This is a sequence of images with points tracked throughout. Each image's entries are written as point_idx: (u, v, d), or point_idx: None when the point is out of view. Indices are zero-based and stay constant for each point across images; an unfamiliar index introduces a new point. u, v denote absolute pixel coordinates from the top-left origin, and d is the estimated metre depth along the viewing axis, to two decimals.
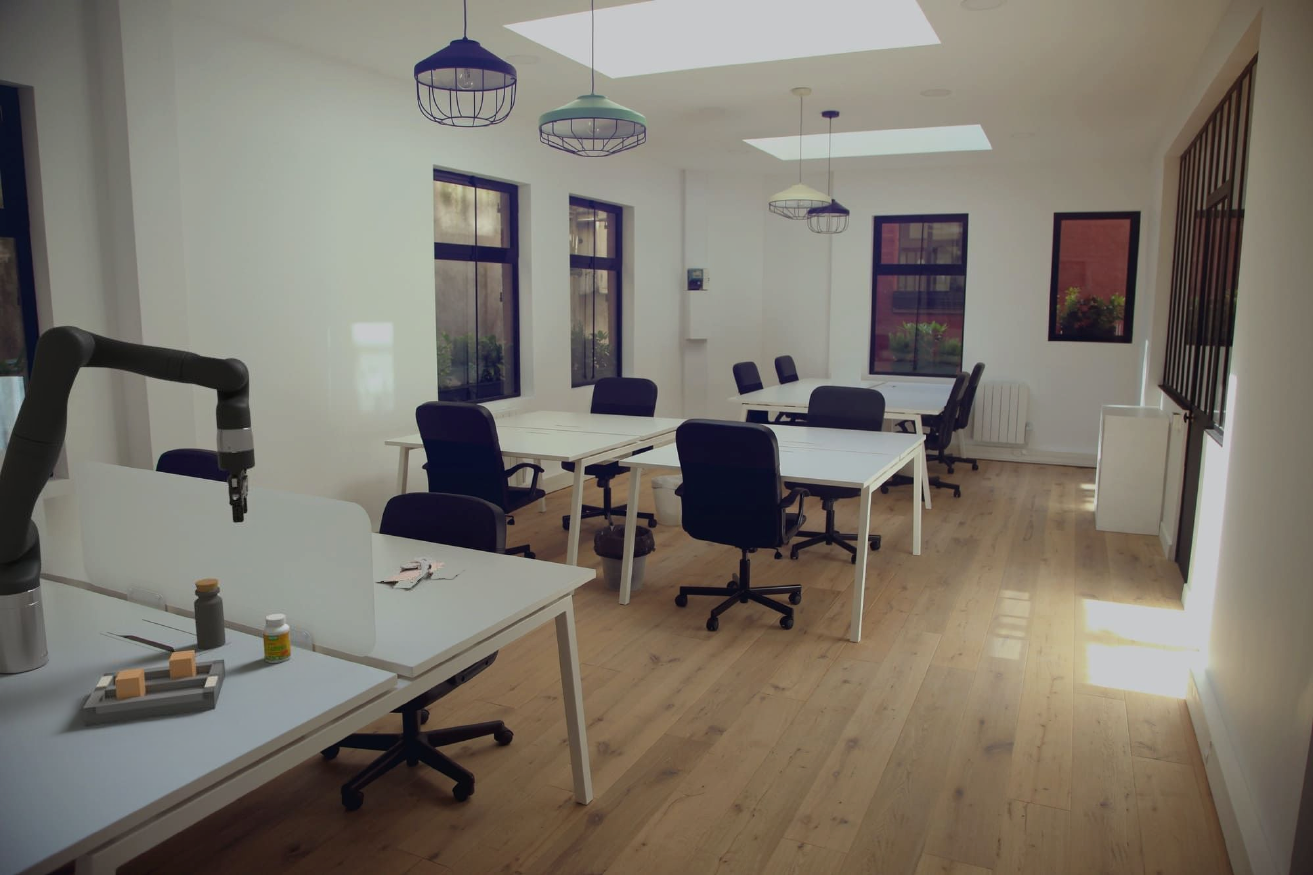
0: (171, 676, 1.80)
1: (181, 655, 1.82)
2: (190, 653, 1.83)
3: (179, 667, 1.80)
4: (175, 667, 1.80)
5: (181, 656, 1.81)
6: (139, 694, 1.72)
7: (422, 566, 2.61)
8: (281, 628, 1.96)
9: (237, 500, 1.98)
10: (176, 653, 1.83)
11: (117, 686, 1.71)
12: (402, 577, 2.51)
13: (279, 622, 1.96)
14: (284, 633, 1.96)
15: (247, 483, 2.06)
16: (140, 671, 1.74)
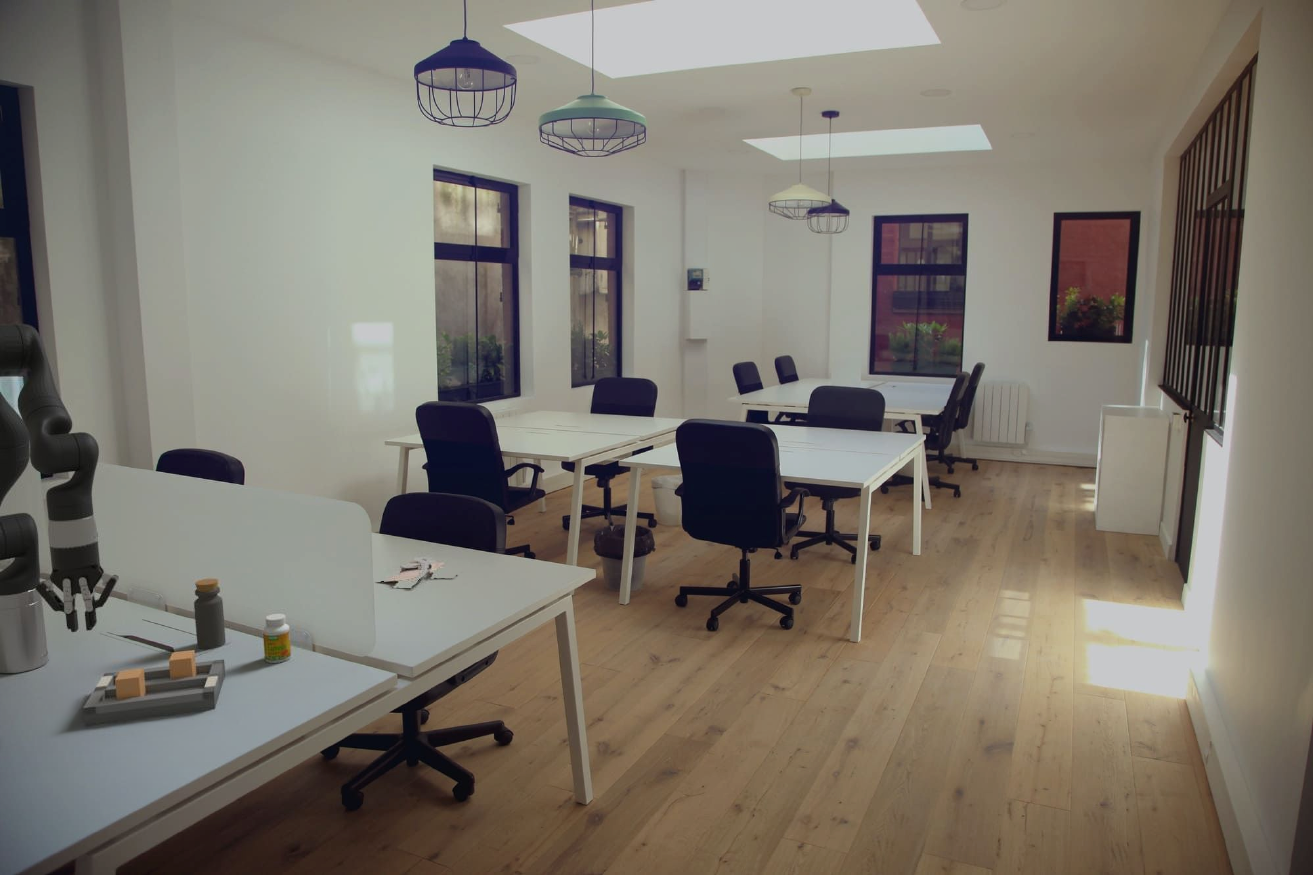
0: (171, 676, 1.80)
1: (181, 655, 1.82)
2: (190, 653, 1.83)
3: (179, 667, 1.80)
4: (175, 667, 1.80)
5: (181, 656, 1.81)
6: (139, 694, 1.72)
7: (422, 566, 2.61)
8: (281, 628, 1.96)
9: None
10: (176, 653, 1.83)
11: (117, 686, 1.71)
12: (402, 577, 2.51)
13: (279, 622, 1.96)
14: (284, 633, 1.96)
15: None
16: (140, 671, 1.74)
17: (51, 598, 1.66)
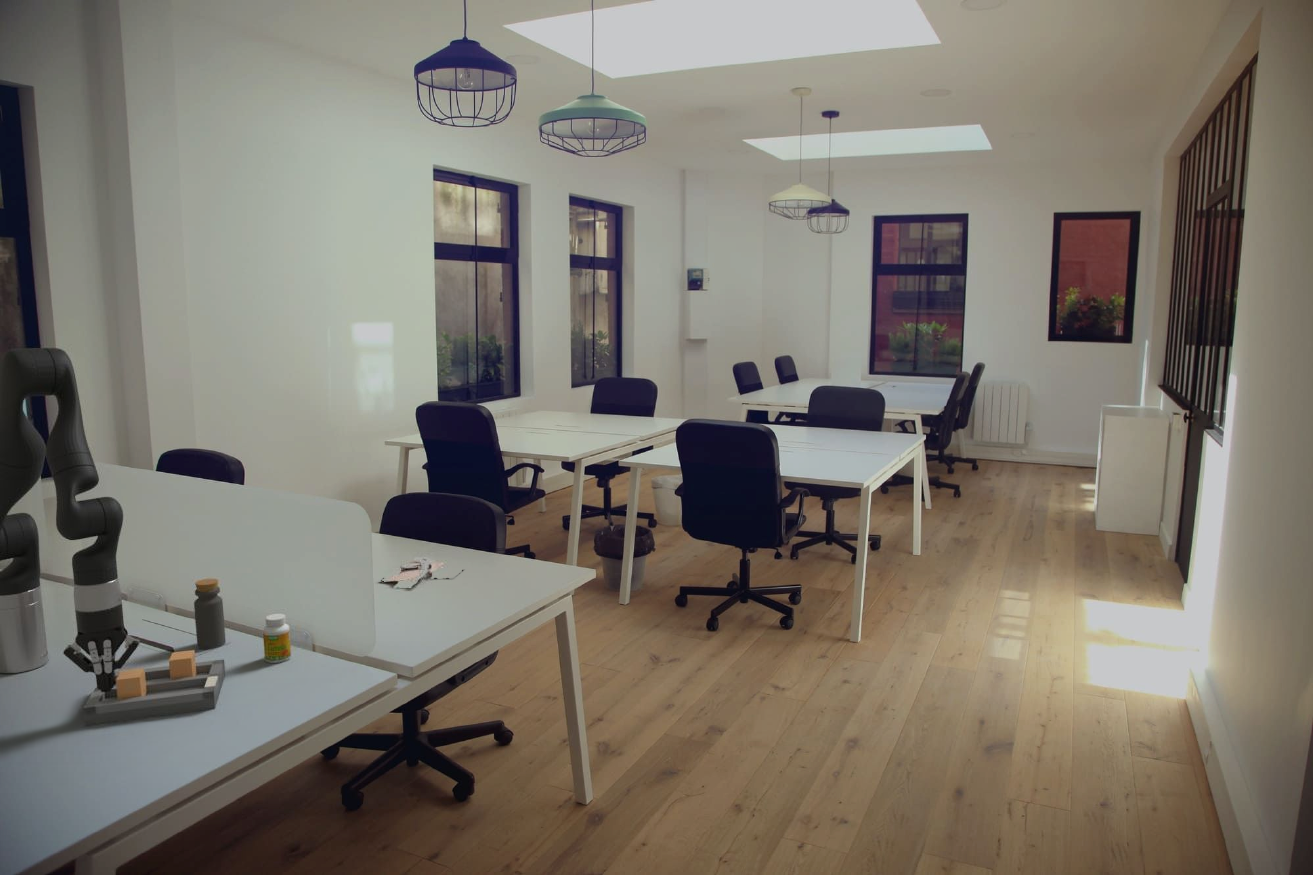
0: (171, 676, 1.80)
1: (181, 655, 1.82)
2: (190, 653, 1.83)
3: (179, 667, 1.80)
4: (175, 667, 1.80)
5: (181, 656, 1.81)
6: (140, 694, 1.72)
7: (422, 566, 2.61)
8: (281, 628, 1.96)
9: None
10: (176, 653, 1.83)
11: (118, 686, 1.71)
12: (402, 577, 2.51)
13: (279, 622, 1.96)
14: (284, 633, 1.96)
15: None
16: (141, 671, 1.74)
17: (80, 660, 1.69)
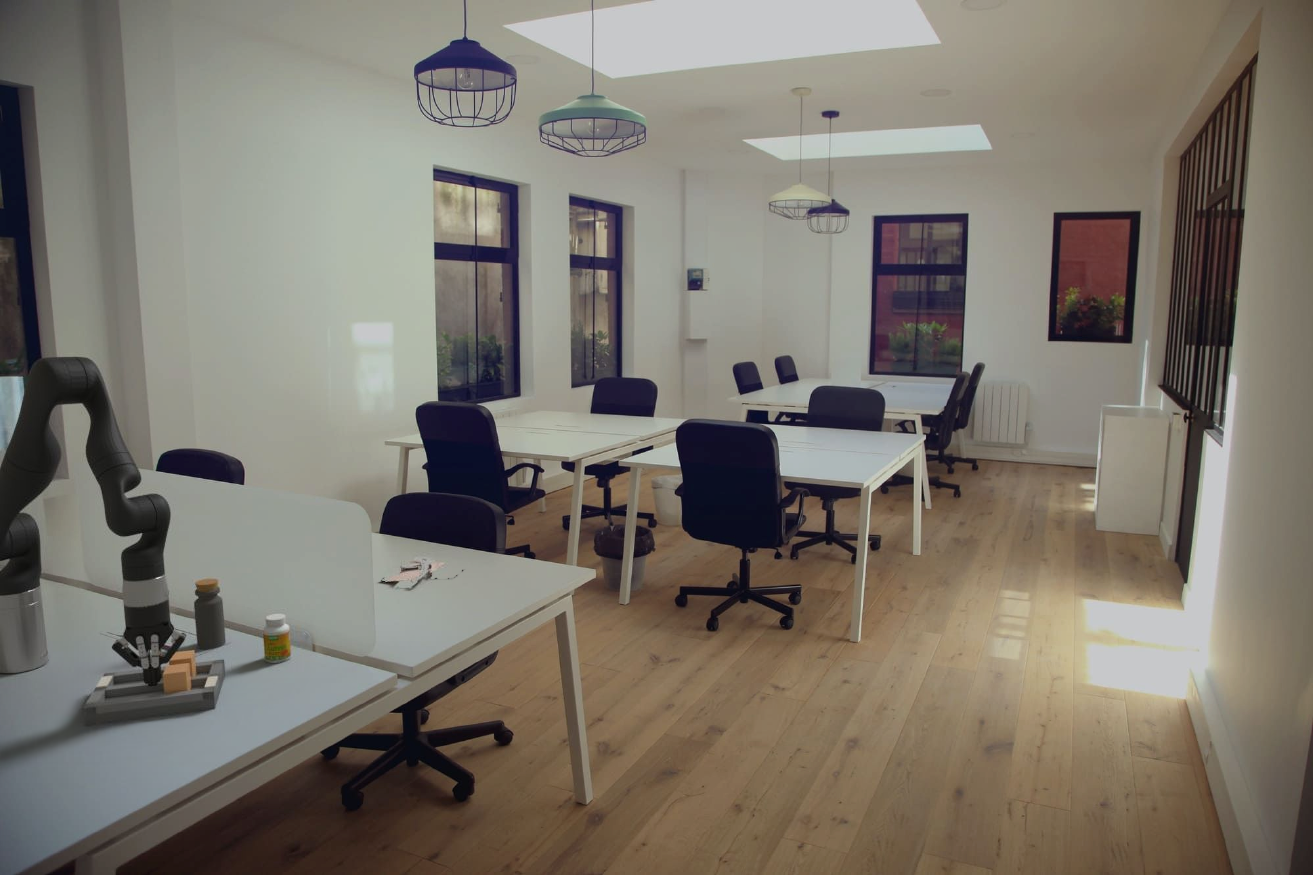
0: None
1: (181, 655, 1.82)
2: (190, 653, 1.83)
3: None
4: None
5: (181, 656, 1.81)
6: (186, 688, 1.75)
7: (422, 566, 2.61)
8: (281, 628, 1.96)
9: None
10: (176, 653, 1.83)
11: (165, 680, 1.73)
12: (403, 577, 2.51)
13: (279, 622, 1.96)
14: (284, 633, 1.96)
15: None
16: (186, 666, 1.77)
17: (128, 655, 1.71)
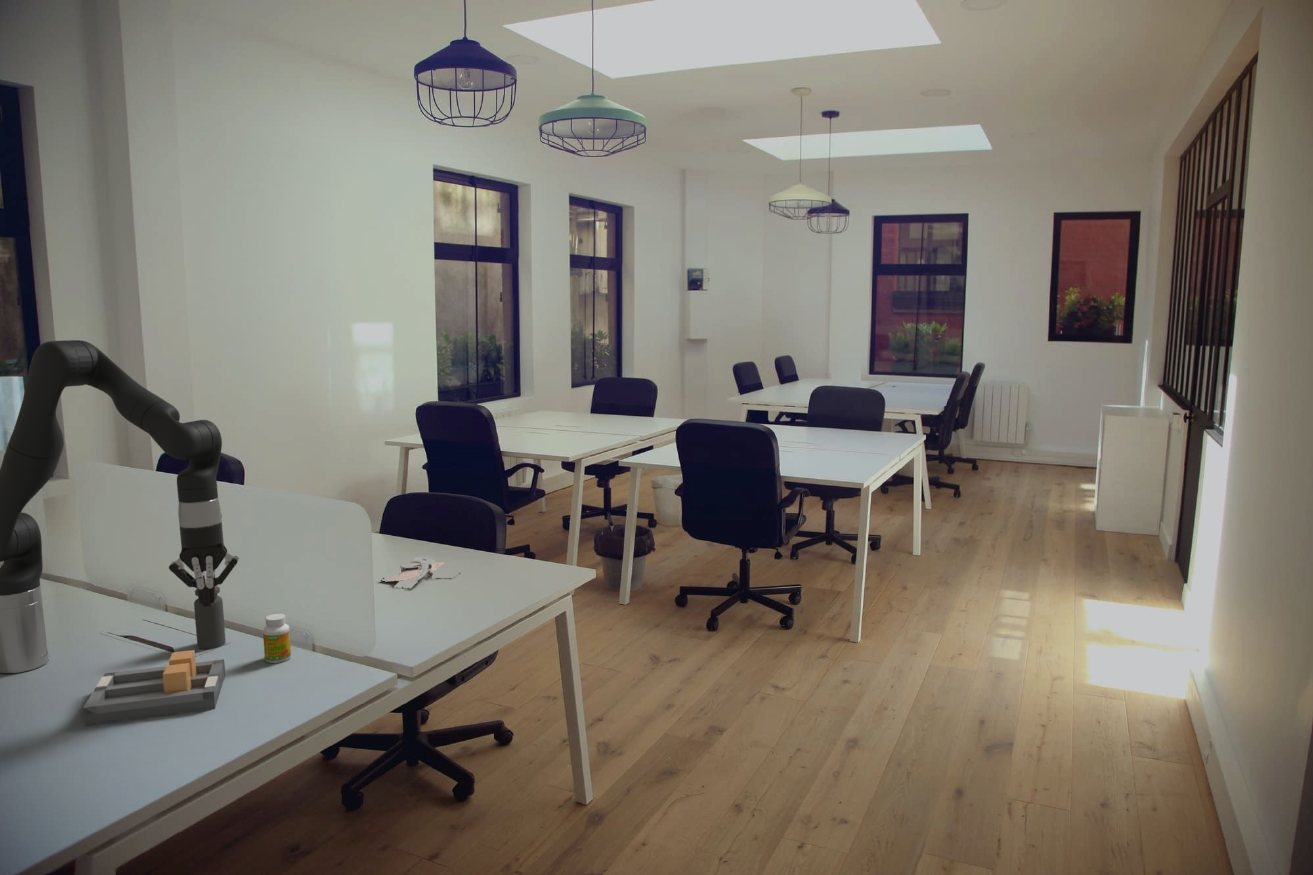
0: None
1: (181, 655, 1.82)
2: (190, 653, 1.83)
3: None
4: None
5: (181, 656, 1.81)
6: (186, 688, 1.75)
7: (422, 566, 2.61)
8: (281, 628, 1.96)
9: None
10: (176, 653, 1.83)
11: (165, 680, 1.73)
12: (403, 577, 2.51)
13: (279, 622, 1.96)
14: (284, 633, 1.96)
15: None
16: (186, 666, 1.77)
17: (184, 575, 1.78)
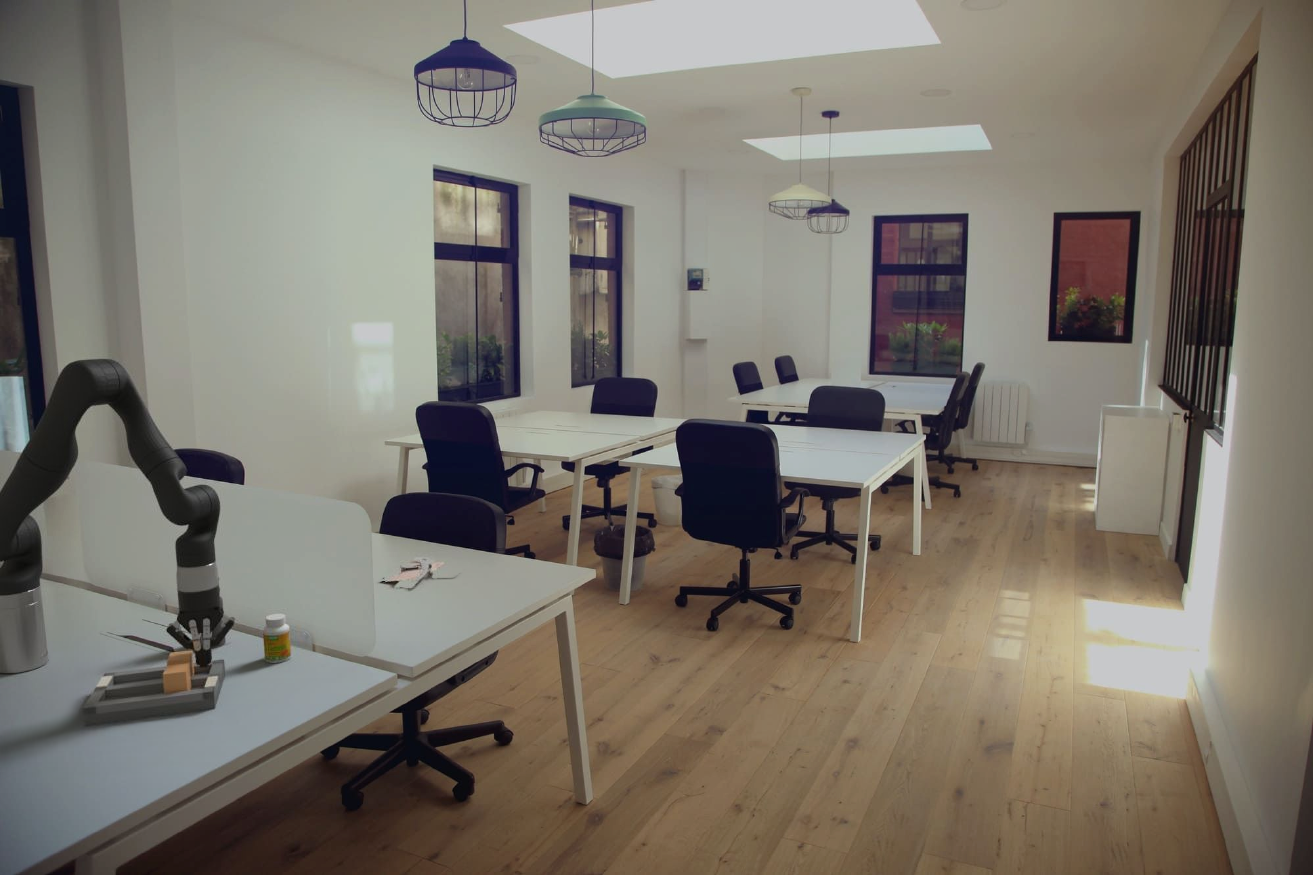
0: None
1: (179, 655, 1.82)
2: (188, 653, 1.83)
3: None
4: None
5: (179, 657, 1.81)
6: (186, 688, 1.75)
7: (422, 566, 2.61)
8: (281, 628, 1.96)
9: None
10: (174, 653, 1.83)
11: (165, 680, 1.73)
12: (403, 577, 2.51)
13: (279, 622, 1.96)
14: (284, 633, 1.96)
15: None
16: (186, 666, 1.77)
17: (181, 638, 1.81)
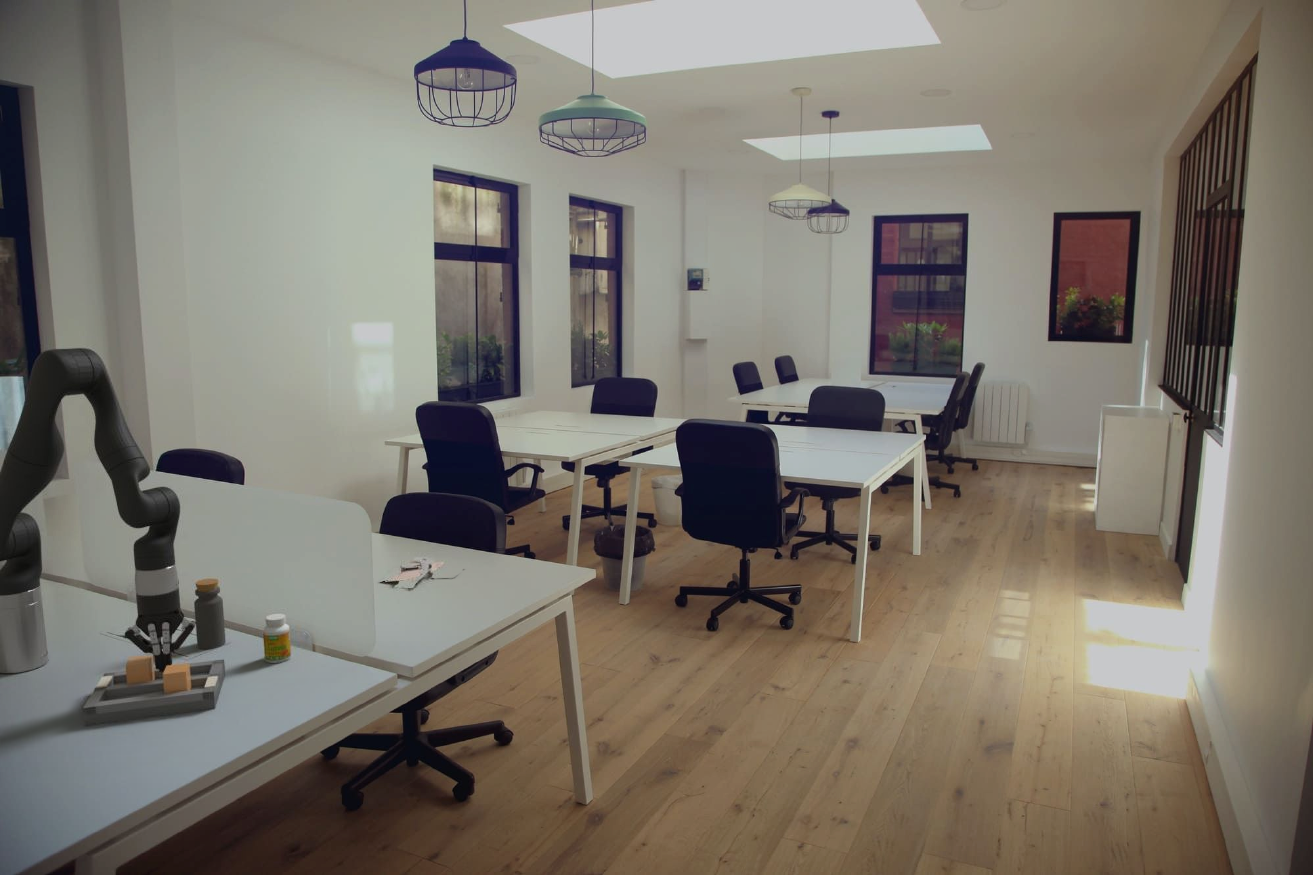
0: (128, 681, 1.78)
1: (138, 659, 1.80)
2: (148, 658, 1.81)
3: (136, 672, 1.78)
4: (132, 672, 1.78)
5: (138, 661, 1.79)
6: (186, 688, 1.75)
7: (422, 566, 2.61)
8: (281, 628, 1.96)
9: None
10: (134, 658, 1.80)
11: (165, 680, 1.73)
12: (403, 577, 2.51)
13: (279, 622, 1.96)
14: (284, 633, 1.96)
15: None
16: (186, 666, 1.77)
17: (140, 642, 1.78)
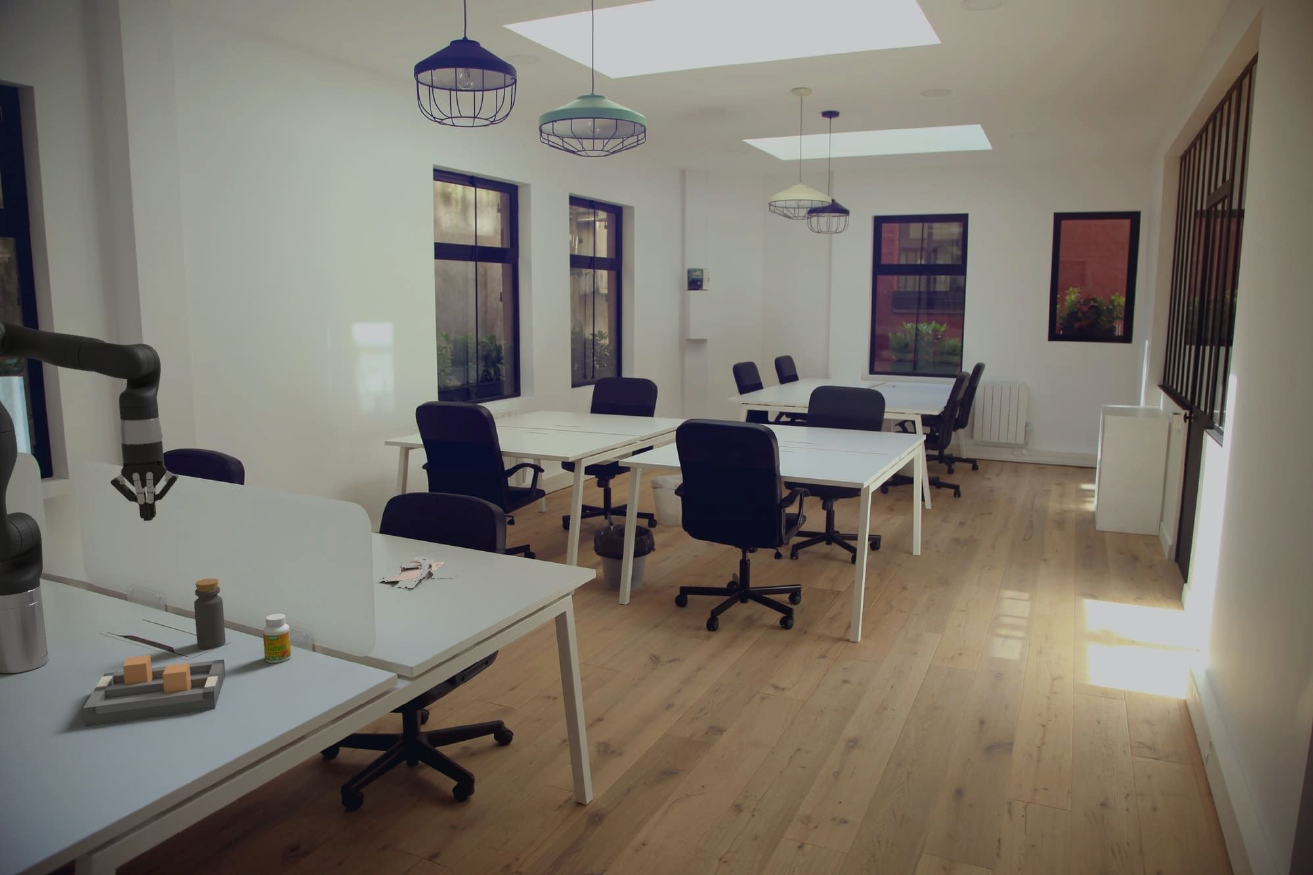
0: (125, 682, 1.77)
1: (136, 660, 1.80)
2: (146, 658, 1.80)
3: (134, 672, 1.78)
4: (129, 672, 1.77)
5: (136, 662, 1.79)
6: (186, 688, 1.75)
7: (422, 566, 2.61)
8: (281, 628, 1.96)
9: None
10: (131, 658, 1.80)
11: (165, 680, 1.73)
12: (403, 577, 2.51)
13: (279, 622, 1.96)
14: (284, 633, 1.96)
15: None
16: (186, 666, 1.77)
17: (125, 490, 1.88)
